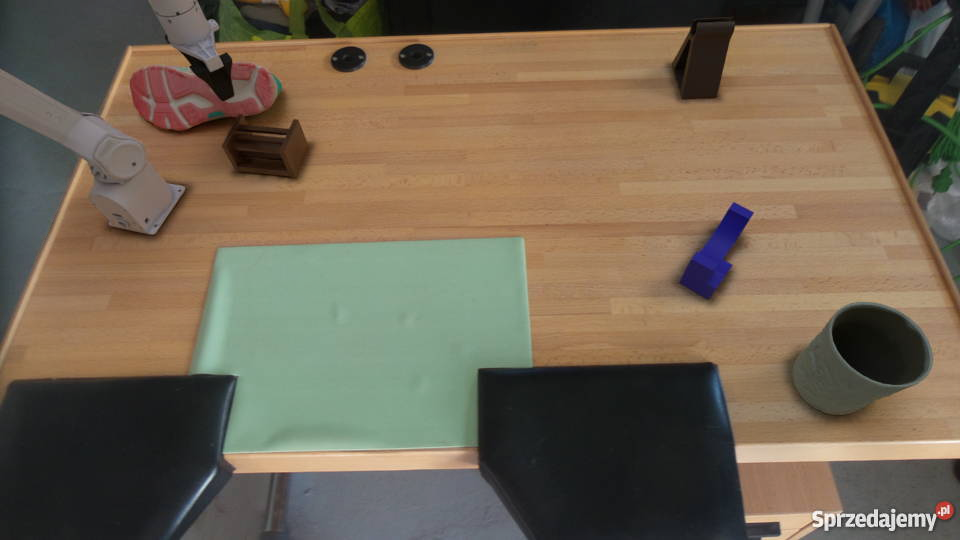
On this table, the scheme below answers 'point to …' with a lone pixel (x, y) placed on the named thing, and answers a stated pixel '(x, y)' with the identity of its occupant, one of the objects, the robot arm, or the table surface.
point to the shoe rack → (265, 147)
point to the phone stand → (703, 57)
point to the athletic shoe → (199, 95)
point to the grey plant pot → (861, 358)
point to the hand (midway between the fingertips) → (216, 85)
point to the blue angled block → (716, 253)
